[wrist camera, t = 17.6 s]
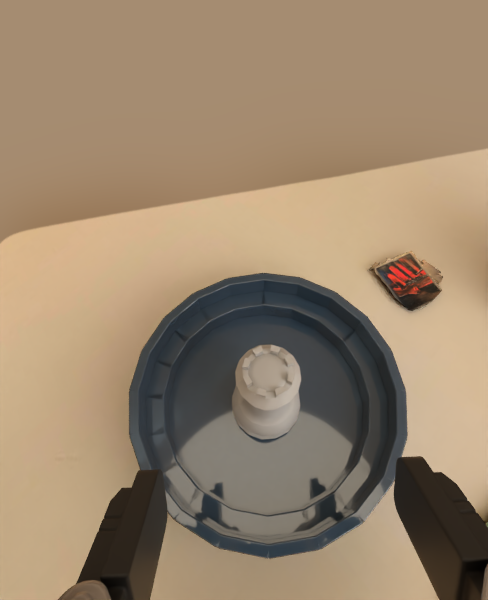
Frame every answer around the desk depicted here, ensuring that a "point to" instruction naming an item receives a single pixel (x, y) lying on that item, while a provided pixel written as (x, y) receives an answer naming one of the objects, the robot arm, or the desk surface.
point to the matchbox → (410, 280)
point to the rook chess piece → (266, 392)
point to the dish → (286, 448)
